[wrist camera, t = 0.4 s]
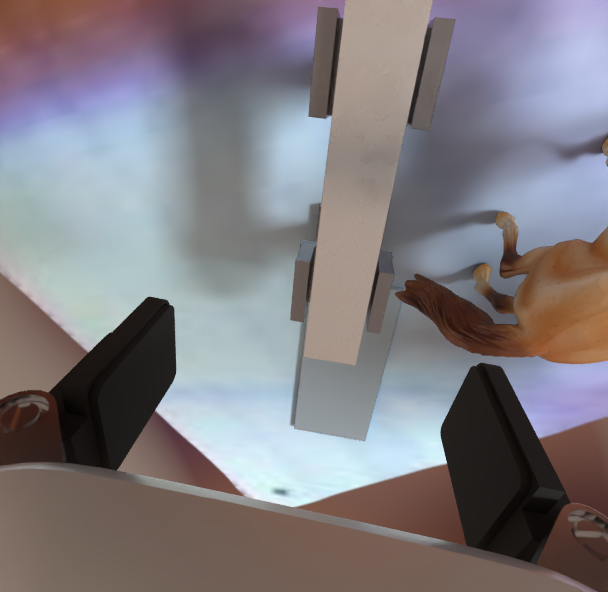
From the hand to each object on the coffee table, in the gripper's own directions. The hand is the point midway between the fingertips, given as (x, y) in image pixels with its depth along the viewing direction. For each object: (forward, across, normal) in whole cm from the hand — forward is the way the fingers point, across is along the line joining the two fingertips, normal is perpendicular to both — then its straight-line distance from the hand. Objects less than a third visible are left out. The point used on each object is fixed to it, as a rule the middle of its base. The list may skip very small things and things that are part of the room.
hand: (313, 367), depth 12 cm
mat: (+27, -4, +22) cm, 35 cm away
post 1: (+27, -1, -8) cm, 29 cm away
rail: (+17, -1, -2) cm, 17 cm away
